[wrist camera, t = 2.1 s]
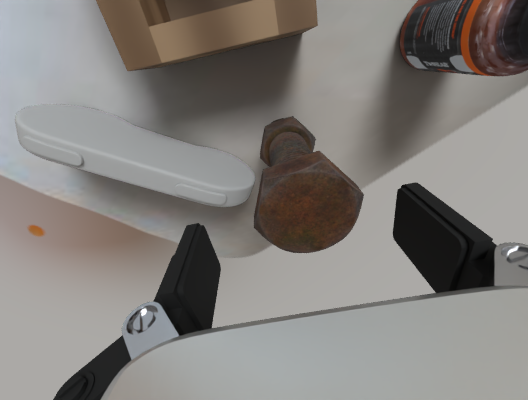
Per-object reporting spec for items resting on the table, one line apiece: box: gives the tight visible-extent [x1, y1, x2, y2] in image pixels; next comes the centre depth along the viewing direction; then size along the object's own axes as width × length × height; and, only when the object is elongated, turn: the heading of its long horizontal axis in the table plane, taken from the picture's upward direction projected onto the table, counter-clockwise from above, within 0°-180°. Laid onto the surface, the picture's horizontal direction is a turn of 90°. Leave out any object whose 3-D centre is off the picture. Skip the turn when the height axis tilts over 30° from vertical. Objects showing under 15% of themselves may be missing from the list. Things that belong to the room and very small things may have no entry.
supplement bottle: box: [400, 0, 528, 76], centre depth 15 cm, size 6×6×11 cm
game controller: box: [15, 104, 255, 207], centre depth 21 cm, size 20×2×8 cm, turn 70°
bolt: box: [254, 116, 364, 253], centre depth 18 cm, size 6×5×15 cm
